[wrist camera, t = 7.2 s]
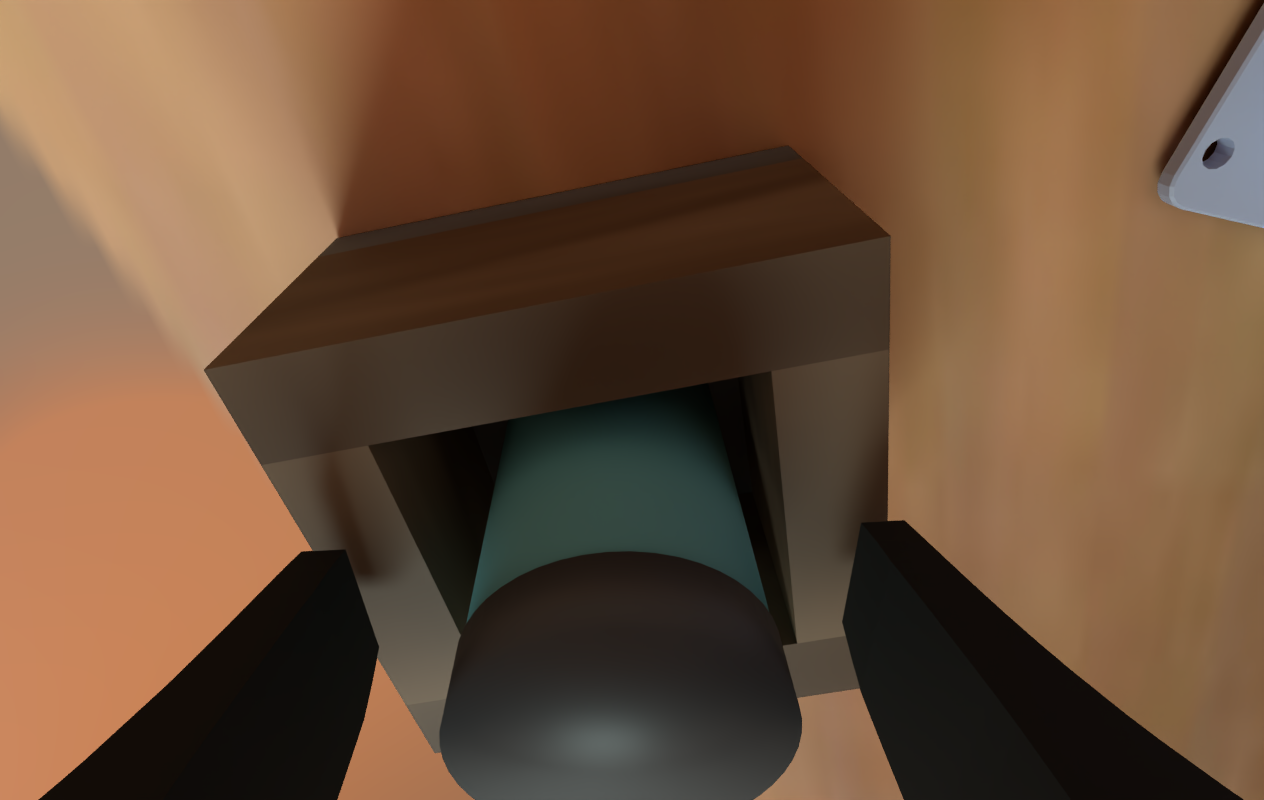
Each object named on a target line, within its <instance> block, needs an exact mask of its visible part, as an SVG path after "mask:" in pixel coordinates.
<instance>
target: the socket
mask: <svg viewBox="0 0 1264 800" xmlns="http://www.w3.org/2000/svg"><path fill="white" fill-rule="evenodd" d="M890 240H891V236H890V235H889V234H888V233H887V232H885V231H884V230H883V229H882V228H881V227H880V226H879V225H878V224H876V223H875V222H874V221H873V220H872V219H871V218H870V217H868V216H867V215H866V214H865V213H864V212H863V211H862V210H861V209H859V208H858V207H857V206H856V205H855V204H854V203H853V202H852V201H850V200H849V199H848V198H847V197H846V196H845V195H844V194H842V193H841V192H840V191H839V190H838V189H837V188H836V187H835V186H833V185H832V184H831V183H830V182H829V181H828V180H827V179H826V178H824V177H823V176H822V175H821V174H820V173H819V172H818V171H817V170H815V169H814V168H813V167H812V166H811V165H810V164H809V163H807V162H806V161H805V160H804V159H803V158H802V157H801V156H800V155H798V154H797V153H796V152H795V151H794V150H793V149H792V148H791V147H789V146H784V147H779V148H774V149H769V150H764V151H760V152H755V153H750V154H745V155H740V156H735V157H730V158H725V159H721V160H716V161H711V162H706V163H701V164H696V165H691V166H687V167H682V168H677V169H672V170H667V171H662V172H657V173H652V174H648V175H643V176H638V177H633V178H628V179H623V180H618V181H614V182H609V183H604V184H599V185H594V186H589V187H584V188H579V189H575V190H570V191H565V192H560V193H555V194H550V195H545V196H541V197H536V198H531V199H526V200H521V201H516V202H511V203H507V204H502V205H497V206H492V207H487V208H482V209H477V210H472V211H468V212H463V213H458V214H453V215H448V216H443V217H438V218H434V219H429V220H424V221H419V222H414V223H409V224H404V225H399V226H395V227H390V228H385V229H380V230H375V231H370V232H365V233H361V234H356V235H351V236H346V237H341V238H337V239H336V240H335V241H334V242H333V243H332V244H331V245H330V246H329V247H328V248H327V249H326V250H325V251H324V252H323V253H321V254H320V255H319V256H318V257H317V258H316V259H315V260H314V261H313V262H312V263H311V264H310V265H309V266H308V267H307V268H306V269H305V270H304V271H303V272H302V273H301V274H300V275H299V276H298V277H297V278H296V279H295V280H294V281H293V282H292V283H291V284H290V285H289V286H288V287H287V288H286V289H285V290H284V291H283V292H282V293H281V294H280V295H279V296H278V297H277V298H276V299H275V300H274V301H273V302H272V303H271V304H270V305H269V306H268V307H267V308H266V309H265V310H264V311H263V312H262V313H261V314H260V315H259V316H258V317H257V318H256V319H255V320H254V321H253V322H252V323H251V324H250V325H249V326H248V327H247V328H246V329H245V330H244V331H243V332H242V333H241V334H240V335H239V336H238V337H237V338H236V339H235V340H234V341H233V342H232V343H231V344H230V345H229V346H227V347H226V348H225V349H224V350H223V351H222V352H221V353H220V354H219V355H218V356H217V357H216V358H215V359H214V360H213V361H212V362H211V363H210V364H209V365H208V366H207V367H206V368H205V369H204V371H205V373H206V375H207V376H208V378H209V379H210V381H211V383H212V384H213V386H214V388H215V389H216V391H217V393H218V394H219V396H220V398H221V399H222V401H223V403H224V404H225V406H226V408H227V409H228V411H229V413H230V414H231V416H232V418H233V419H234V421H235V423H236V424H237V426H238V428H239V429H240V431H241V433H242V434H243V436H244V438H245V439H246V441H247V442H248V444H249V446H250V447H251V449H252V451H253V452H254V454H255V456H256V457H257V459H258V461H259V462H260V464H261V466H262V467H263V469H264V471H265V472H266V474H267V476H268V477H269V479H270V481H271V482H272V484H273V486H274V487H275V489H276V491H277V492H278V494H279V496H280V497H281V499H282V500H283V502H284V504H285V505H286V507H287V509H288V510H289V512H290V514H291V515H292V517H293V519H294V520H295V522H296V524H297V525H298V527H299V529H300V530H301V532H302V534H303V535H304V537H305V539H306V540H307V542H308V543H309V545H310V547H311V548H312V550H313V551H323V550H342V549H346V552H347V555H348V558H349V561H350V564H351V567H352V569H353V572H354V575H355V578H356V581H357V584H358V587H359V590H360V593H361V596H362V599H363V601H364V604H365V607H366V610H367V613H368V616H369V619H370V622H371V625H372V628H373V630H374V633H375V636H376V639H377V642H378V645H379V651H378V656H377V658H378V660H379V661H380V663H381V665H382V666H383V668H384V670H385V671H386V673H387V674H388V676H389V678H390V680H391V681H392V683H393V685H394V686H395V688H396V690H397V691H398V693H399V694H400V696H401V698H402V699H403V701H404V703H405V704H406V706H407V708H408V709H409V711H410V712H411V714H412V716H413V718H414V719H415V721H416V723H417V724H418V726H419V728H420V729H421V731H422V732H423V734H424V736H425V738H426V739H427V741H428V743H429V744H430V746H431V748H432V749H433V751H434V752H435V753H439V752H441V749H440V739H439V730H440V726H441V721H442V716H443V712H444V707H445V702H446V698H447V693H448V688H449V683H450V679H451V674H452V669H453V665H454V660H455V655H456V651H457V646H458V641H459V638H460V636H461V634H462V631H463V629H464V627H465V625H466V622H467V618H468V613H469V608H470V603H471V598H472V593H473V588H474V584H475V579H476V574H477V569H478V564H479V559H480V555H481V550H482V545H483V540H484V535H485V530H486V525H487V521H488V516H489V511H490V506H491V501H492V496H493V492H494V487H495V482H496V477H497V472H498V467H499V462H500V458H501V453H502V448H503V443H504V438H505V433H506V429H507V424H508V420H510V419H515V418H520V417H526V416H531V415H537V414H542V413H548V412H553V411H558V410H564V409H569V408H575V407H580V406H586V405H591V404H596V403H602V402H607V401H613V400H618V399H624V398H629V397H634V396H640V395H645V394H651V393H656V392H661V391H667V390H672V389H678V388H683V387H689V386H694V385H699V384H705V383H708V385H709V389H710V393H711V396H712V400H713V404H714V407H715V411H716V415H717V419H718V422H719V426H720V430H721V434H722V437H723V441H724V445H725V449H726V452H727V456H728V460H729V463H730V467H731V471H732V475H733V478H734V482H735V486H736V490H737V493H738V497H739V501H740V505H741V508H742V512H743V516H744V519H745V523H746V527H747V531H748V534H749V538H750V542H751V546H752V549H753V553H754V557H755V561H756V564H757V568H758V572H759V575H760V579H761V583H762V587H763V590H764V594H765V598H766V602H767V605H768V609H769V613H770V614H771V616H772V617H773V619H774V622H775V624H776V626H777V628H778V631H779V634H780V638H781V641H782V645H783V649H784V652H785V656H786V660H787V663H788V667H789V671H790V674H791V678H792V682H793V685H794V689H795V692H796V696H797V698H799V697H806V696H812V695H819V694H825V693H832V692H838V691H845V690H851V689H858V688H860V687H859V683H858V680H857V676H856V673H855V669H854V666H853V662H852V658H851V655H850V651H849V647H848V643H847V639H846V635H845V631H844V628H843V624H842V620H843V614H844V609H845V604H846V599H847V593H848V588H849V583H850V578H851V573H852V567H853V562H854V557H855V552H856V547H857V541H858V536H859V531H860V526H861V523H863V522H882V521H887V517H888V425H889V333H890Z"/></svg>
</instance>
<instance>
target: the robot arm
mask: <svg viewBox="0 0 1264 800" xmlns="http://www.w3.org/2000/svg"><path fill="white" fill-rule="evenodd" d="M1216 140H1217V146H1216V149H1215V151H1214V153H1213V154H1212V155H1211V156H1210V157H1209V158H1208V159H1207V160H1205V161H1202V158H1203V155H1204V152H1205V150H1206V149H1207V148H1208V147H1209V146H1210V145H1211V143H1213V142H1215V141H1216ZM1158 194H1159V196H1160V198H1161V200H1162V201H1164V202H1166V203H1168V204H1170V205H1172V206H1175V207H1177V208H1180V209H1183V210H1187V211H1192V212H1196V213H1200V214H1205V215H1209V216H1213V217H1218V218H1222V219H1226V220H1231V221H1235V222H1239V223H1244V224H1248V225H1252V226H1257V227H1261V228H1264V3H1263V5H1262V7H1261V8H1260V10H1259V12H1258V13H1257V15H1256V17H1255V18H1254V20H1253V22H1252V23H1251V25H1250V27H1249V28H1248V30H1247V32H1246V33H1245V35H1244V37H1243V38H1242V40H1241V42H1240V43H1239V45H1238V47H1237V48H1236V50H1235V52H1234V53H1233V55H1232V57H1231V58H1230V60H1229V62H1228V63H1227V65H1226V67H1225V68H1224V70H1223V72H1222V73H1221V75H1220V77H1219V78H1218V80H1217V82H1216V83H1215V85H1214V87H1213V88H1212V90H1211V92H1210V93H1209V95H1208V97H1207V98H1206V100H1205V102H1204V103H1203V105H1202V107H1201V108H1200V110H1199V112H1198V113H1197V115H1196V117H1195V118H1194V120H1193V121H1192V123H1191V125H1190V126H1189V128H1188V130H1187V131H1186V133H1185V135H1184V136H1183V138H1182V140H1181V141H1180V143H1179V145H1178V146H1177V148H1176V150H1175V151H1174V153H1173V155H1172V156H1171V158H1170V160H1169V161H1168V163H1167V165H1166V166H1165V168H1164V170H1163V171H1162V174H1161V176H1160V179H1159V181H1158ZM842 624H843V628H844V631H845V635H846V639H847V643H848V647H849V651H850V655H851V658H852V662H853V666H854V669H855V673H856V676H857V680H858V683H859V687H860V690H861V693H862V696H863V698H864V701H865V704H866V706H867V709H868V711H869V714H870V716H871V719H872V721H873V724H874V726H875V729H876V731H877V734H878V736H879V739H880V742H881V744H882V747H883V749H884V752H885V754H886V757H887V759H888V761H889V764H890V766H891V769H892V771H893V774H894V776H895V779H896V781H897V784H898V786H899V789H900V791H901V794H902V796H903V799H904V800H1243V799H1242V798H1240V797H1239V796H1238V795H1236V794H1235V793H1233V792H1232V791H1230V790H1229V789H1227V788H1226V787H1225V786H1223V785H1222V784H1220V783H1219V782H1218V781H1216V780H1215V779H1213V778H1212V777H1211V776H1209V775H1208V774H1207V773H1205V772H1204V771H1202V770H1201V769H1200V768H1198V767H1197V766H1195V765H1194V764H1193V763H1191V762H1190V761H1188V760H1187V759H1186V758H1184V757H1183V756H1182V755H1180V754H1179V753H1177V752H1176V751H1175V750H1173V749H1172V748H1170V747H1169V746H1168V745H1166V744H1165V743H1163V742H1162V741H1161V740H1159V739H1158V738H1157V737H1155V736H1154V735H1153V734H1151V733H1150V732H1149V731H1147V730H1146V729H1145V728H1143V727H1142V726H1141V725H1139V724H1138V723H1137V722H1136V721H1134V720H1133V719H1132V718H1130V717H1129V716H1128V715H1126V714H1125V713H1124V712H1123V711H1121V710H1120V709H1119V708H1118V707H1116V706H1115V705H1114V704H1113V703H1111V702H1110V701H1109V700H1108V699H1106V698H1105V697H1104V696H1103V695H1101V694H1100V693H1099V692H1098V691H1096V690H1095V689H1094V688H1093V687H1091V686H1090V685H1089V684H1088V683H1086V682H1085V681H1084V680H1083V679H1081V678H1080V677H1079V676H1078V675H1076V674H1075V673H1074V672H1073V671H1071V670H1070V669H1069V668H1068V667H1067V666H1066V665H1064V664H1063V663H1062V662H1061V661H1060V660H1058V659H1057V658H1056V657H1055V656H1054V655H1052V654H1051V653H1050V652H1049V651H1048V650H1047V649H1045V648H1044V647H1043V646H1042V645H1041V644H1039V643H1038V642H1037V641H1036V640H1035V639H1034V638H1033V637H1031V636H1030V635H1029V634H1028V633H1027V632H1026V631H1025V630H1023V629H1022V628H1021V627H1020V626H1019V625H1018V624H1017V623H1015V622H1014V621H1013V620H1012V619H1011V618H1010V617H1009V616H1008V615H1006V614H1005V613H1004V612H1003V611H1002V610H1001V609H1000V608H999V607H997V606H996V605H995V604H994V603H993V602H992V601H991V600H990V599H989V598H988V597H986V596H985V595H984V594H983V593H982V592H981V591H980V590H979V589H978V588H977V587H976V586H974V585H973V584H972V583H971V582H970V581H969V580H968V579H967V578H966V577H965V576H964V575H963V574H961V573H960V572H959V571H958V570H957V569H956V568H955V567H954V566H953V565H952V564H951V563H950V562H949V561H948V560H946V559H945V558H944V557H943V556H942V555H941V554H940V553H939V552H938V551H937V550H936V549H935V548H934V547H933V546H932V545H930V544H929V543H928V542H927V541H926V540H925V539H924V538H923V537H922V536H921V535H920V534H919V533H918V532H916V531H915V530H914V529H913V528H912V527H911V526H910V525H909V524H908V523H907V522H906V521H904V520H902V521H882V522H863V523H861V526H860V531H859V536H858V541H857V547H856V552H855V557H854V562H853V567H852V573H851V578H850V583H849V588H848V593H847V599H846V604H845V609H844V614H843V620H842ZM378 651H379V645H378V642H377V639H376V636H375V633H374V630H373V628H372V625H371V622H370V619H369V616H368V613H367V610H366V607H365V604H364V601H363V599H362V596H361V593H360V590H359V587H358V584H357V581H356V578H355V575H354V572H353V569H352V567H351V564H350V561H349V558H348V555H347V552H346V549H342V550H323V551H306V552H305V551H304V552H301V553H300V554H299V555H298V556H297V557H295V559H294V560H292V561H291V562H290V563H289V564H288V565H287V566H286V567H285V568H284V569H283V570H282V571H281V572H280V573H279V574H278V575H277V576H276V577H275V578H274V579H273V580H272V581H271V582H270V583H269V584H268V585H267V586H266V587H265V588H264V589H263V590H262V591H261V592H260V593H259V594H258V595H257V596H256V597H255V598H254V599H253V600H252V601H251V602H250V603H249V604H248V605H247V606H246V608H244V609H243V610H242V611H241V612H240V613H239V615H238V616H237V617H236V618H235V619H234V620H233V621H232V622H231V623H230V624H229V625H228V626H227V627H226V628H225V629H224V630H223V631H222V632H221V633H219V634H218V636H216V637H215V639H213V640H212V641H211V642H210V643H209V644H208V645H207V646H206V647H205V648H204V649H203V650H202V651H201V652H200V653H199V654H198V655H197V656H196V657H195V658H194V659H193V660H192V661H191V662H190V663H189V664H188V665H187V666H186V667H185V668H184V669H183V670H182V671H181V672H180V673H179V674H178V675H177V676H176V677H175V678H174V679H173V680H172V681H171V682H170V683H168V685H166V686H165V687H164V688H163V689H162V690H161V691H160V692H159V693H158V694H157V695H156V696H155V697H153V698H152V699H151V700H150V701H149V702H148V703H147V704H146V705H145V706H144V707H142V708H141V709H140V710H139V711H138V712H137V713H136V714H135V715H134V716H133V717H132V718H130V719H129V720H128V721H127V722H126V723H125V724H124V725H123V726H122V727H121V728H119V729H118V730H117V731H116V732H115V733H114V734H113V735H112V736H111V737H110V738H109V739H107V740H106V741H105V742H104V743H103V744H102V745H101V746H100V747H99V748H98V749H97V750H96V751H94V752H93V753H92V754H91V755H90V756H89V757H88V758H87V759H86V760H85V761H83V762H82V763H81V764H80V765H79V766H78V767H76V768H75V769H74V770H73V771H72V772H71V773H70V774H68V775H67V776H66V777H65V778H64V779H63V780H61V781H60V782H59V783H58V784H57V785H55V786H54V787H53V788H52V789H51V790H50V791H48V792H47V793H46V794H45V795H44V796H42V797H41V798H40V799H39V800H337V799H338V796H339V793H340V790H341V787H342V784H343V781H344V778H345V775H346V772H347V769H348V766H349V763H350V760H351V757H352V754H353V751H354V748H355V745H356V742H357V740H358V736H359V733H360V730H361V727H362V724H363V721H364V717H365V712H366V708H367V704H368V699H369V695H370V690H371V686H372V681H373V676H374V671H375V666H376V661H377V656H378Z"/></svg>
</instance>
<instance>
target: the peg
mask: <svg viewBox="0 0 1264 800" xmlns="http://www.w3.org/2000/svg"><path fill="white" fill-rule="evenodd" d="M801 734H802V717H801V712H800V708H799V703H798V700H797V696H796V692H795V689H794V685H793V682H792V678H791V674H790V671H789V667H788V663H787V660H786V656H785V652H784V649H783V645H782V641H781V638H780V634H779V631H778V628H777V626H776V624H775V622H774V619H773V617H772V616H771V614H770V613H769V609H768V605H767V602H766V598H765V594H764V590H763V587H762V583H761V579H760V575H759V572H758V568H757V564H756V561H755V557H754V553H753V549H752V546H751V542H750V538H749V534H748V531H747V527H746V523H745V519H744V516H743V512H742V508H741V505H740V501H739V497H738V493H737V490H736V486H735V482H734V478H733V475H732V471H731V467H730V463H729V460H728V456H727V452H726V449H725V445H724V441H723V437H722V434H721V430H720V426H719V422H718V419H717V415H716V411H715V407H714V404H713V400H712V396H711V393H710V389H709V385H708V383H705V384H699V385H694V386H689V387H683V388H678V389H672V390H667V391H661V392H656V393H651V394H645V395H640V396H634V397H629V398H624V399H618V400H613V401H607V402H602V403H596V404H591V405H586V406H580V407H575V408H569V409H564V410H558V411H553V412H548V413H542V414H537V415H531V416H526V417H520V418H515V419H510V420H508V424H507V429H506V433H505V438H504V443H503V448H502V453H501V458H500V462H499V467H498V472H497V477H496V482H495V487H494V492H493V496H492V501H491V506H490V511H489V516H488V521H487V525H486V530H485V535H484V540H483V545H482V550H481V555H480V559H479V564H478V569H477V574H476V579H475V584H474V588H473V593H472V598H471V603H470V608H469V613H468V618H467V622H466V625H465V627H464V629H463V631H462V634H461V636H460V638H459V641H458V646H457V651H456V655H455V660H454V665H453V669H452V674H451V679H450V683H449V688H448V693H447V698H446V702H445V707H444V712H443V716H442V721H441V726H440V730H439V739H440V749H441V753H442V757H443V760H444V762H445V764H446V767H447V769H448V771H449V772H450V774H451V775H452V777H453V778H454V779H455V781H456V782H457V784H458V785H459V786H460V787H461V788H462V789H463V790H464V791H466V793H468V795H470V796H471V797H472V798H473V799H475V800H753V799H755V798H756V797H758V796H759V795H761V794H762V793H763V792H764V791H766V790H767V789H768V788H769V787H770V786H772V785H773V784H774V783H775V782H776V781H777V779H778V778H779V777H780V776H781V775H782V774H783V773H784V772H785V770H786V769H787V767H788V766H789V764H790V763H791V761H792V760H793V758H794V755H795V753H796V751H797V749H798V747H799V742H800V738H801Z"/></svg>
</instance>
